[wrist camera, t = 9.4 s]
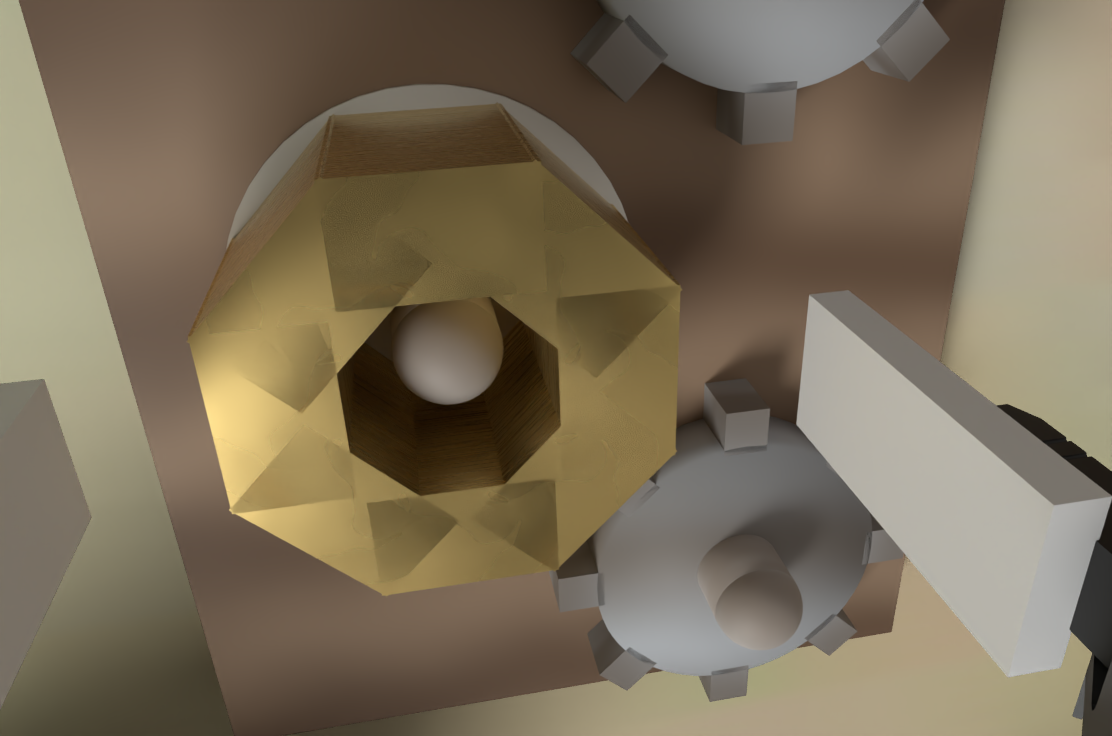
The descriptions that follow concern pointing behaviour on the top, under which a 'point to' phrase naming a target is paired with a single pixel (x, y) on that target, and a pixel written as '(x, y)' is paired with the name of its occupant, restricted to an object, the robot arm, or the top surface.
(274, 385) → the faceted octagonal washer
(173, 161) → the gear board
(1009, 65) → the top surface
